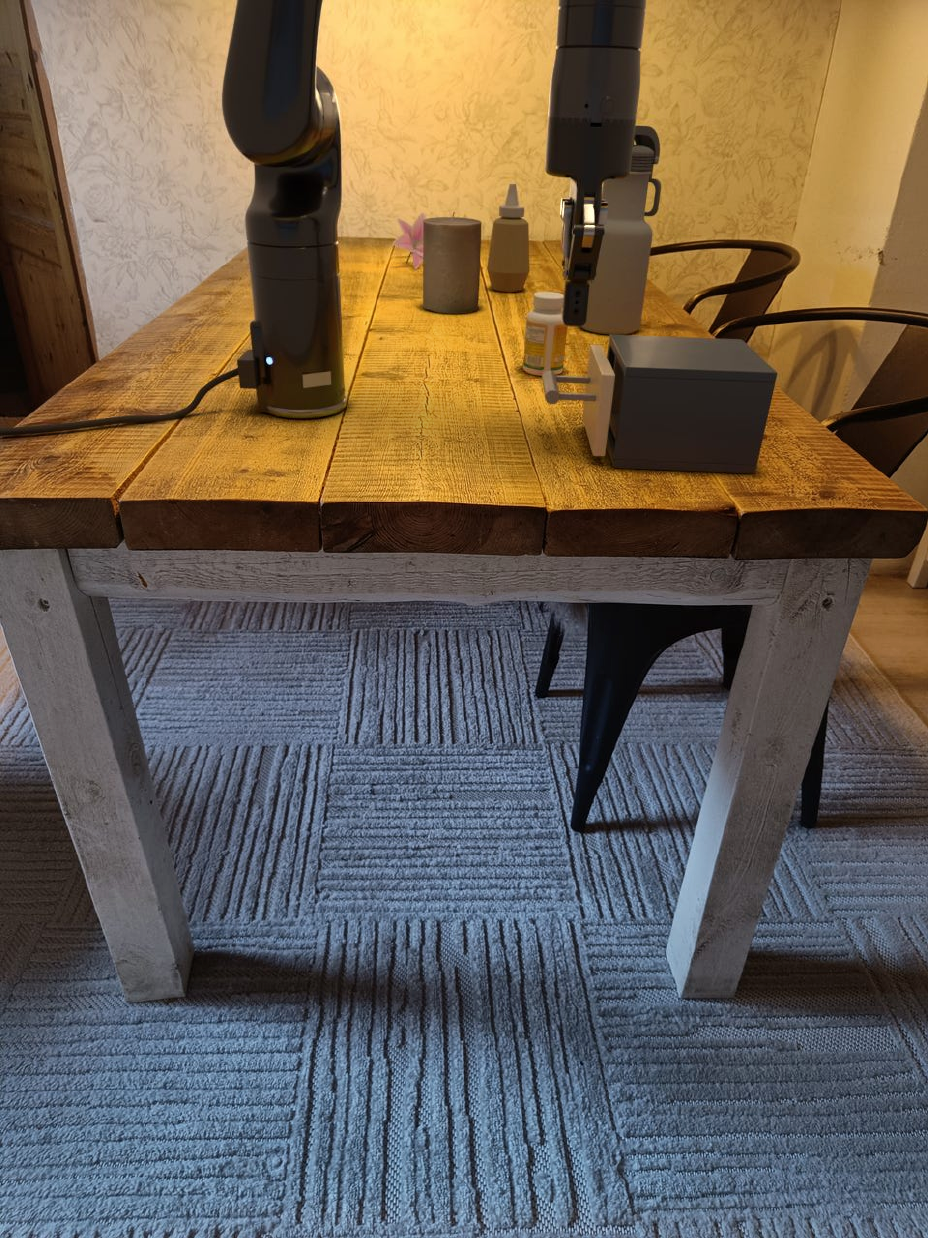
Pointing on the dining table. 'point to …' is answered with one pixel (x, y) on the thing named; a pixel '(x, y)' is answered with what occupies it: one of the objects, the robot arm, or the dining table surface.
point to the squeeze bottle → (509, 246)
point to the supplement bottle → (545, 335)
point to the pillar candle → (451, 264)
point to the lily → (412, 239)
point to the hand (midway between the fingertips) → (573, 323)
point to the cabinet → (689, 404)
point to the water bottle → (625, 243)
